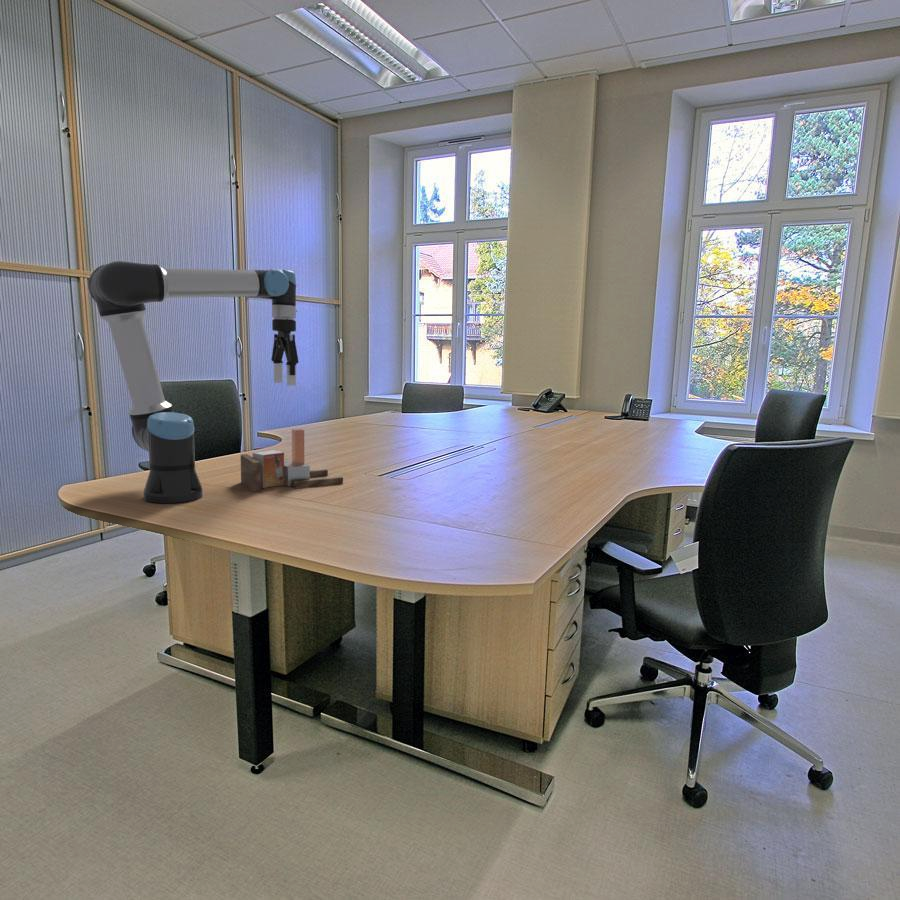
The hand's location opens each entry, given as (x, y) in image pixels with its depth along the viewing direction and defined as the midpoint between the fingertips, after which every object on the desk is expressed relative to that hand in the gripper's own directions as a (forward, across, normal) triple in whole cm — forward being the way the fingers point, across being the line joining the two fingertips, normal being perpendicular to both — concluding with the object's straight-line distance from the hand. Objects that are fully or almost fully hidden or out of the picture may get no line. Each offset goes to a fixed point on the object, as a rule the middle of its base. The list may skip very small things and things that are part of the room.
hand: (284, 384), depth 201 cm
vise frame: (+31, -14, +2) cm, 34 cm away
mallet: (+31, -14, +2) cm, 34 cm away
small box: (+31, -14, +10) cm, 35 cm away
